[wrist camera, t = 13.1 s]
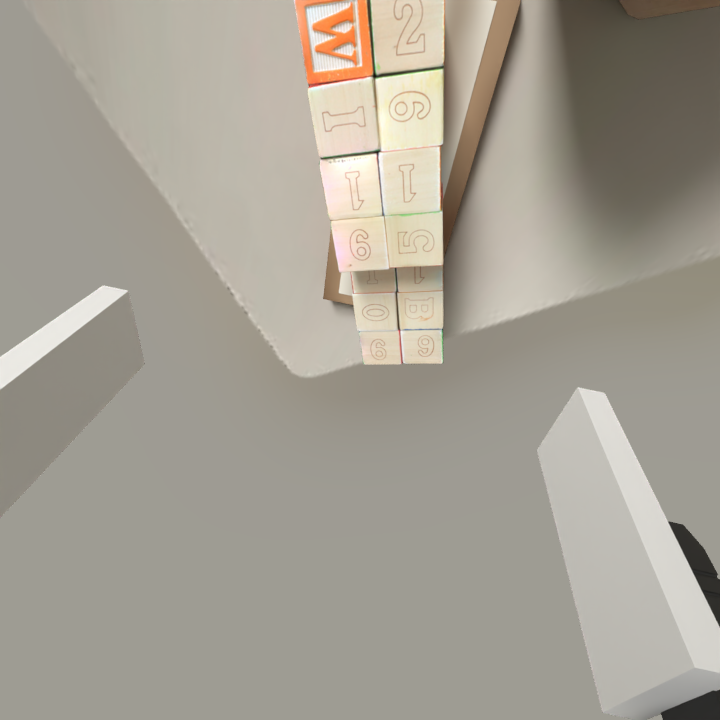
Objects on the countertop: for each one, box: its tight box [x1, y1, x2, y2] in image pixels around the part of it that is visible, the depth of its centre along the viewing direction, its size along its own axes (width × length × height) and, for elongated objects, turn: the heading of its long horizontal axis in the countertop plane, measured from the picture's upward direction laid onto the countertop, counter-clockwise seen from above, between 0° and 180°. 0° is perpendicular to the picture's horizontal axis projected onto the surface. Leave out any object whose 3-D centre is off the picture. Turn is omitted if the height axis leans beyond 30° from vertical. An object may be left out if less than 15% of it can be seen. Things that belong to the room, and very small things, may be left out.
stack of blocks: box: [294, 0, 445, 365], centre depth 27 cm, size 21×6×12 cm, turn 7°
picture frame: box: [323, 0, 521, 305], centre depth 33 cm, size 10×24×2 cm, turn 171°
